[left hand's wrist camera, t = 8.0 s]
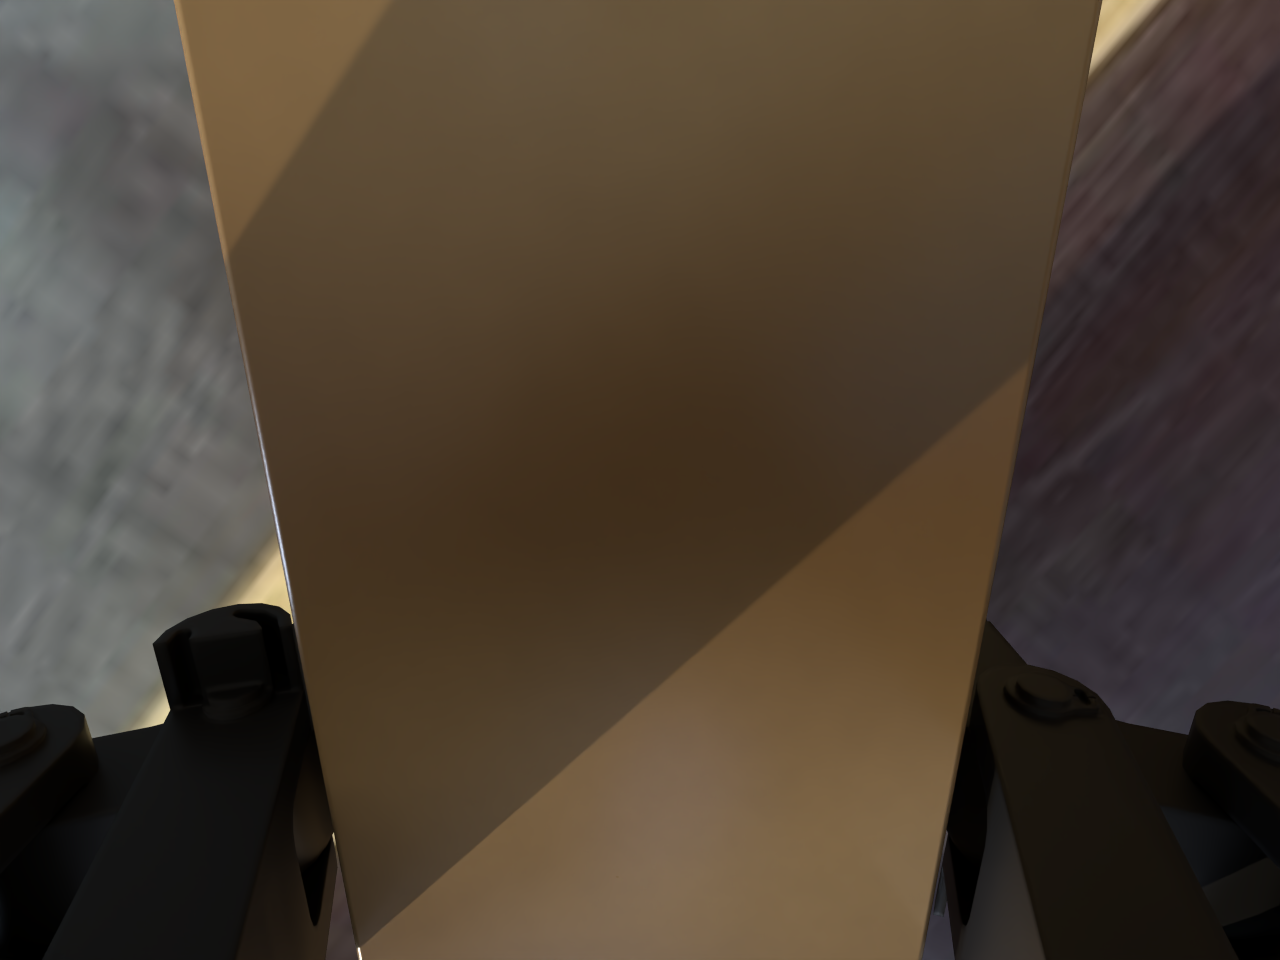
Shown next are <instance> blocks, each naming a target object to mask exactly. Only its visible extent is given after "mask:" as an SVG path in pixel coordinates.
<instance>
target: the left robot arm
mask: <svg viewBox="0 0 1280 960" xmlns="http://www.w3.org/2000/svg"><path fill="white" fill-rule="evenodd" d="M153 647H154V651H155V655H156V658H157V662H158V666H159V669H160V673H161V677H162V681H163V684H164V688H165V692H166V695H167V699H168V703H169V706H170V712H169V714H168V716H167V718H166V720H165V722H164V724H160V725H156V726H152V727H147V728H142V729H137V730H132V731H127V732H122V733H117V734H112V735H107V736H102V737H97V738H92V737H91V734H90V731H89V728H88V725H87V722H86V718H85V715H84V714H83V713H81V712H80V711H79V710H77V709H76V708H75V707H73V706H65V705H56V704H50V705H42V706H34V707H23V708H19V709H15V710H11V712H9V713H7V712H4V713H1V714H0V960H325V957H326V950H327V942H328V935H329V927H330V920H331V912H332V904H333V897H334V889H335V882H336V874H337V860H336V853H335V847H334V842H333V837H332V834H333V832H334V830H333V825H332V819H331V814H330V809H329V804H328V799H327V793H326V788H325V783H324V778H323V773H322V767H321V762H320V757H319V752H318V747H317V741H316V736H315V731H314V726H313V721H312V715H311V710H310V705H309V700H308V695H307V689H306V684H305V679H304V674H303V669H302V663H301V658H300V653H299V648H298V643H297V637H296V632H295V627H294V623H293V624H292V622H291V617H290V614H289V613H287V612H286V611H285V610H283V609H282V608H281V607H278V606H273V605H268V604H263V603H255V604H236V605H231V606H227V607H222V608H217V609H212V610H209V611H206V612H204V613H201V614H198V615H195V616H193V617H190V618H187V619H185V620H184V621H182V622H180V623H178V624H177V625H175V626H173V627H171V628H170V629H168V630H166V631H165V632H164V633H163V634H162V635H161V636H160V637H159V638H158V639H157V640H156V641H155V642H154V643H153ZM946 830H947V831H948V837H947V842H946V847H945V852H944V858H943V863H942V868H941V873H940V878H939V884H938V889H937V894H936V900H935V907H934V914H933V915H937V916H942V917H944V912H945V907H946V902H947V903H948V910H949V918H950V925H951V933H952V940H953V948H954V956H955V960H1280V710H1279V709H1276V708H1273V709H1270V707H1268V706H1264V705H1260V704H1254V703H1252V704H1250V703H1242V702H1234V701H1220V702H1212V703H1207V704H1205V705H1204V706H1202V707H1201V708H1200V709H1198V710H1197V711H1196V713H1195V716H1194V719H1193V722H1192V725H1191V729H1190V732H1189V735H1185V734H1180V733H1175V732H1170V731H1165V730H1160V729H1154V728H1149V727H1144V726H1139V725H1134V724H1129V723H1125V722H1121V721H1117V720H1115V718H1114V716H1113V715H1112V713H1111V711H1110V709H1109V708H1108V706H1107V705H1106V704H1105V703H1104V702H1103V700H1102V699H1101V698H1100V697H1099V696H1098V694H1096V693H1095V692H1093V691H1092V690H1090V689H1089V688H1087V687H1086V686H1084V685H1083V684H1081V683H1080V682H1078V681H1077V680H1074V679H1072V678H1070V677H1067V676H1065V675H1062V674H1060V673H1058V672H1055V671H1053V670H1048V669H1044V668H1040V667H1036V666H1032V665H1027V664H1026V662H1025V661H1024V660H1023V659H1022V658H1021V657H1020V656H1019V654H1018V653H1017V652H1016V651H1015V650H1014V649H1013V648H1012V646H1011V645H1010V644H1009V643H1008V642H1007V641H1006V639H1005V638H1004V637H1003V636H1002V635H1001V634H1000V633H999V631H998V630H997V629H996V628H995V627H994V626H993V625H992V623H991V622H990V621H987V620H986V621H985V627H984V632H983V637H982V643H981V648H980V653H979V659H978V664H977V669H976V675H975V680H974V685H973V691H972V696H971V701H970V706H969V712H968V717H967V722H966V728H965V733H964V738H963V744H962V749H961V754H960V760H959V765H958V770H957V776H956V781H955V786H954V792H953V797H952V802H951V808H950V813H949V818H948V823H947V829H946Z"/></svg>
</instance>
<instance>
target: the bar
mask: <svg viewBox="0 0 1280 960" xmlns="http://www.w3.org/2000/svg"><path fill="white" fill-rule="evenodd" d="M174 3H175V8H176V14H177V19H178V24H179V29H180V34H181V40H182V45H183V50H184V55H185V60H186V66H187V71H188V76H189V81H190V86H191V92H192V97H193V102H194V107H195V112H196V118H197V123H198V128H199V133H200V138H201V144H202V149H203V154H204V159H205V164H206V170H207V175H208V180H209V185H210V190H211V196H212V201H213V206H214V211H215V216H216V222H217V227H218V232H219V237H220V242H221V248H222V253H223V258H224V263H225V268H226V274H227V279H228V284H229V289H230V294H231V300H232V305H233V310H234V315H235V320H236V326H237V331H238V336H239V341H240V346H241V352H242V357H243V362H244V367H245V372H246V378H247V383H248V388H249V393H250V398H251V403H252V409H253V414H254V419H255V424H256V429H257V435H258V440H259V445H260V450H261V455H262V461H263V466H264V471H265V476H266V481H267V487H268V492H269V497H270V502H271V507H272V513H273V518H274V523H275V528H276V533H277V539H278V544H279V549H280V554H281V559H282V565H283V570H284V575H285V580H286V585H287V591H288V596H289V601H290V606H291V611H292V617H293V622H294V627H295V632H296V637H297V643H298V648H299V653H300V658H301V663H302V669H303V674H304V679H305V684H306V689H307V695H308V700H309V705H310V710H311V715H312V721H313V726H314V731H315V736H316V741H317V747H318V752H319V757H320V762H321V767H322V773H323V778H324V783H325V788H326V793H327V799H328V804H329V809H330V814H331V819H332V825H333V830H334V835H335V840H336V845H337V851H338V856H339V861H340V866H341V871H342V877H343V882H344V887H345V892H346V897H347V903H348V908H349V913H350V918H351V923H352V929H353V934H354V939H355V944H356V949H357V954H358V960H922V956H923V951H924V946H925V940H926V935H927V930H928V924H929V919H930V914H931V909H932V903H933V898H934V893H935V887H936V882H937V877H938V871H939V866H940V861H941V855H942V850H943V845H944V839H945V834H946V829H947V823H948V818H949V813H950V808H951V802H952V797H953V792H954V786H955V781H956V776H957V770H958V765H959V760H960V754H961V749H962V744H963V738H964V733H965V728H966V722H967V717H968V712H969V706H970V701H971V696H972V691H973V685H974V680H975V675H976V669H977V664H978V659H979V653H980V648H981V643H982V637H983V632H984V627H985V621H986V616H987V611H988V605H989V600H990V595H991V590H992V584H993V579H994V574H995V568H996V563H997V558H998V552H999V547H1000V542H1001V536H1002V531H1003V526H1004V520H1005V515H1006V510H1007V504H1008V499H1009V494H1010V488H1011V483H1012V478H1013V473H1014V467H1015V462H1016V457H1017V451H1018V446H1019V441H1020V435H1021V430H1022V425H1023V419H1024V414H1025V409H1026V403H1027V398H1028V393H1029V387H1030V382H1031V377H1032V372H1033V366H1034V361H1035V356H1036V350H1037V345H1038V340H1039V334H1040V329H1041V324H1042V318H1043V313H1044V308H1045V302H1046V297H1047V292H1048V286H1049V281H1050V276H1051V270H1052V265H1053V260H1054V255H1055V249H1056V244H1057V239H1058V233H1059V228H1060V223H1061V217H1062V212H1063V207H1064V201H1065V196H1066V191H1067V185H1068V180H1069V175H1070V169H1071V164H1072V159H1073V154H1074V148H1075V143H1076V138H1077V132H1078V127H1079V122H1080V116H1081V111H1082V106H1083V100H1084V95H1085V90H1086V84H1087V79H1088V74H1089V68H1090V63H1091V58H1092V52H1093V47H1094V42H1095V37H1096V31H1097V26H1098V21H1099V15H1100V10H1101V5H1102V0H174Z"/></svg>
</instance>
